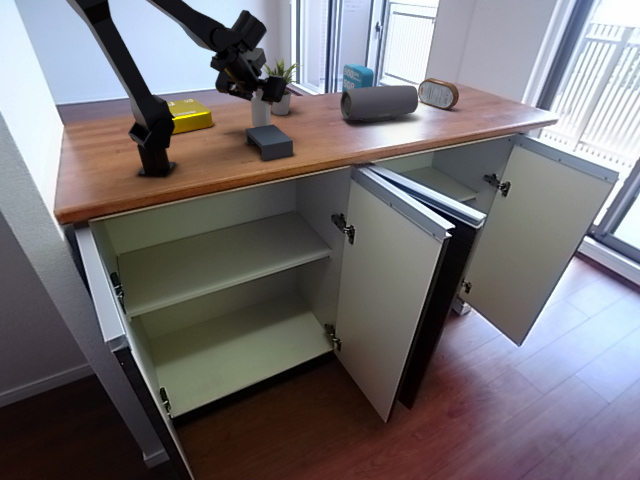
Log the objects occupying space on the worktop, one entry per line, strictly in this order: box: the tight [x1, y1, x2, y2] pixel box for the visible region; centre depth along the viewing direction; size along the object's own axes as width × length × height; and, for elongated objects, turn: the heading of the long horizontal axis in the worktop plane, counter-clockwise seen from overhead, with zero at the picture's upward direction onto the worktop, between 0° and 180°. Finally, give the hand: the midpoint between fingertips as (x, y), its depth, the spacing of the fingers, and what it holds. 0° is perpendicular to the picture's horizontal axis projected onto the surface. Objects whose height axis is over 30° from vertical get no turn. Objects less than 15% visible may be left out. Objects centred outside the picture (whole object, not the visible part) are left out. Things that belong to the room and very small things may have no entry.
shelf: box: [245, 124, 294, 162], centre depth 96 cm, size 8×12×4 cm, turn 29°
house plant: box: [261, 57, 304, 116], centre depth 114 cm, size 14×14×16 cm
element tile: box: [166, 98, 214, 135], centre depth 108 cm, size 15×15×5 cm
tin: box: [417, 77, 460, 110], centre depth 128 cm, size 15×3×8 cm, turn 42°
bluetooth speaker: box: [339, 84, 419, 123], centre depth 115 cm, size 23×9×10 cm, turn 110°
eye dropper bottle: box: [250, 89, 272, 128], centre depth 102 cm, size 4×6×12 cm
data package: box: [341, 62, 375, 95], centre depth 126 cm, size 12×4×12 cm, turn 28°
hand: (263, 102), depth 103 cm, fingers closed on eye dropper bottle, 5 cm apart
